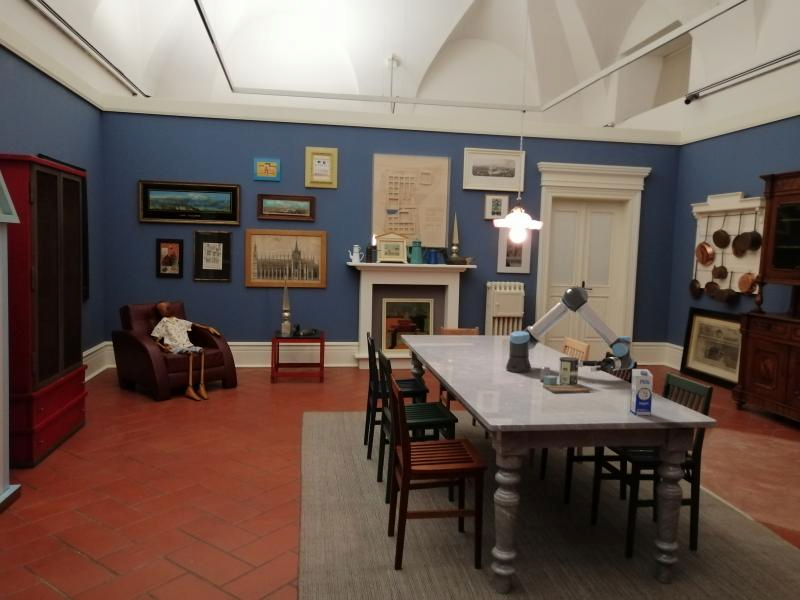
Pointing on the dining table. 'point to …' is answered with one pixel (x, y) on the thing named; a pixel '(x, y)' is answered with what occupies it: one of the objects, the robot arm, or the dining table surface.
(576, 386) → the walnut board
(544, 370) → the metal cylinder
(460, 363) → the dining table surface
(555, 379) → the teal cube
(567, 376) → the coffee can
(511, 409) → the dining table surface
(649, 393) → the milk carton
